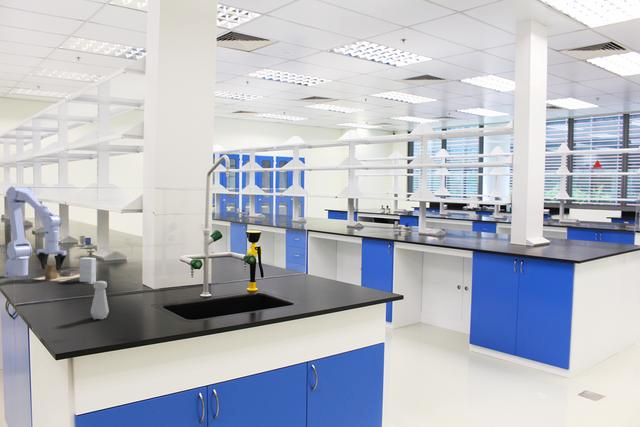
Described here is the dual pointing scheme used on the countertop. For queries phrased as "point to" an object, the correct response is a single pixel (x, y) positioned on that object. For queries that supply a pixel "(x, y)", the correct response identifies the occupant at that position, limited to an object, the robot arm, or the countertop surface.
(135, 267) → the countertop surface
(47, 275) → the tan upright block
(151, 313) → the countertop surface
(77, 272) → the clip board
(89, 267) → the skincare box
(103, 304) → the salt shaker
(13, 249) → the robot arm
